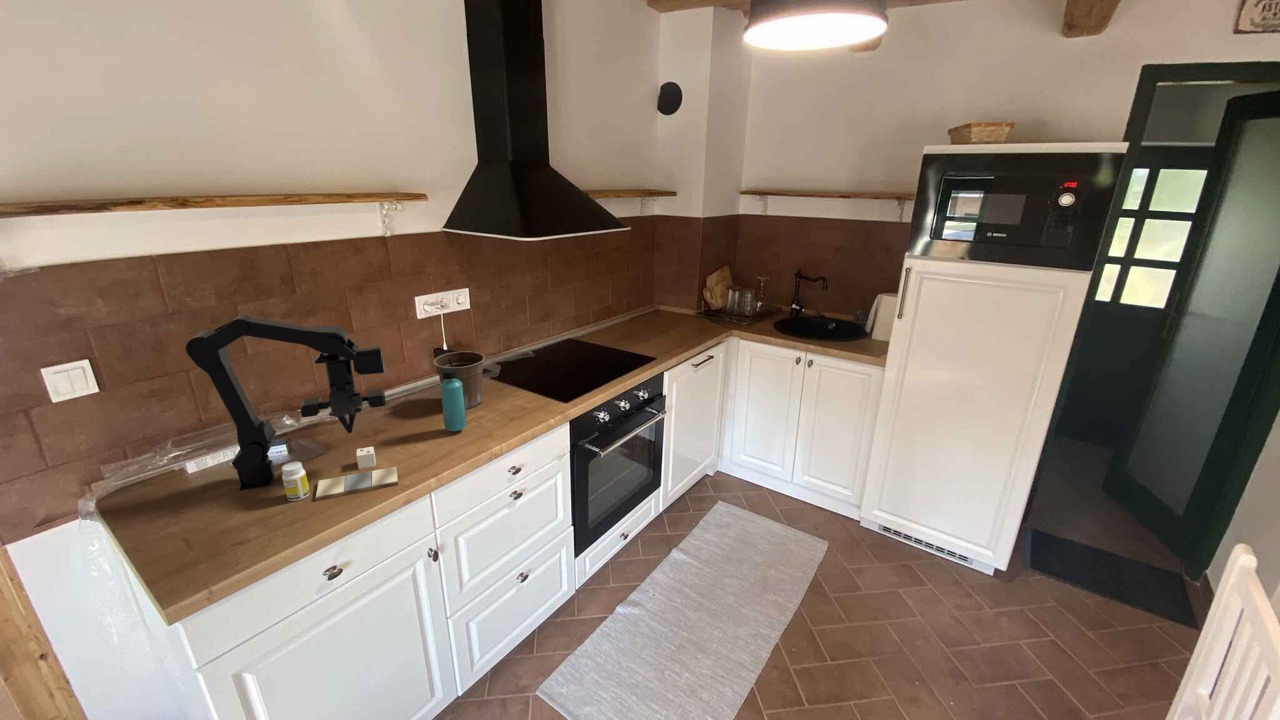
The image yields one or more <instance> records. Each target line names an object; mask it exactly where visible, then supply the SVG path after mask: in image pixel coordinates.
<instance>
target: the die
mask: <svg viewBox="0 0 1280 720" xmlns="http://www.w3.org/2000/svg"><path fill="white" fill-rule="evenodd" d="M356 461H357V462H356V463H357V467H358V470H361V469H367V468H372V467H377V465H376V464H377V463H376V453H375V447H374V446H369V447H363V448H357V449H356Z"/></svg>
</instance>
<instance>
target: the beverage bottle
mask: <svg viewBox="0 0 1280 720" xmlns="http://www.w3.org/2000/svg"><path fill="white" fill-rule="evenodd" d="M457 377H458V375H457V371H456V370H455V369H446V370H444V371H443V378H444V379H447V380H444V381H443V382H442V383H441V382H440V385H439V388H440V394H441V396H440V397H441V406H442V415H443V417H442V418H443V424H444V428H445V429H446V430H447V431H448V432H450V431H451V432H457V431H461V430H463V429H465V428H466V427H467V415H466V409H465V407H464V405H465V404H464V402H465V401H464V398H463V389H462V382H461V381H459V380H457V379H455V378H457Z"/></svg>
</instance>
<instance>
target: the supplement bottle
mask: <svg viewBox="0 0 1280 720" xmlns="http://www.w3.org/2000/svg"><path fill="white" fill-rule="evenodd" d="M303 467H304V466H303V464H302V462H301V461H297V460H296V461H289V462H287V463H285V464H284V465H283V466H281V471H282V475H281V479H282V483H283V488H284V492H285V495H286V499H287V500H288V501H291V502H297V501H301V500H304V499H305V498H307V497H308V496H309V495H310V493H311V492H310V486H309V482H308V477H307V473H306V470H305V469H304V468H303Z"/></svg>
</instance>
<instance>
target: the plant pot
mask: <svg viewBox="0 0 1280 720" xmlns="http://www.w3.org/2000/svg"><path fill="white" fill-rule="evenodd" d="M485 359H486V358H485V355H484V354H482V353H480V352H476V351H469V350H466V351H463V350H461V351H453V352H449V353H444V354H442V355H439V356H437V357H435V358H434V360H433V364H434V366H435V368H436V373H437V374H438V376H439V380H440V384H441V383H442V382H443V381H444V380H447V379H444V378H443V371H444V370H446V369H455V370H456V371H457V375H458V377H457V378H455V379H457V380H459V381H461V382H462V389H463V398H464V401H465V402H464V404H465V405H464V407H465V410H468V409H472V408H475V407H477V406H478V405H479V404H482V402H483V370H484V361H485Z"/></svg>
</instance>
